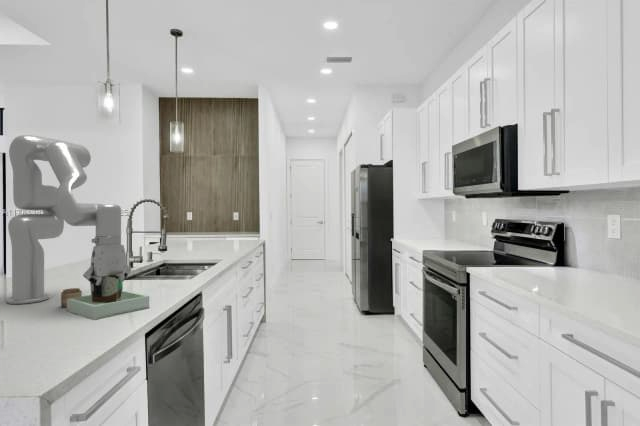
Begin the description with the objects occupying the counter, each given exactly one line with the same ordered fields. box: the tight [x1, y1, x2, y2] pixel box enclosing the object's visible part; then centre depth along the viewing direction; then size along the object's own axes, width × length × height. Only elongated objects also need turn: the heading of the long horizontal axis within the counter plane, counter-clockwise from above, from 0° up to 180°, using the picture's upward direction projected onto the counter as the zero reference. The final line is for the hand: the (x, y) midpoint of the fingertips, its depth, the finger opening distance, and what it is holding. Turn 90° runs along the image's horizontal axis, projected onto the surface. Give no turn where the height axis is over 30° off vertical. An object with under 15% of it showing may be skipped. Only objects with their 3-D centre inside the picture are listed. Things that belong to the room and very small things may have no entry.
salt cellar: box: [60, 287, 83, 309], centre depth 137 cm, size 6×6×6 cm
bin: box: [66, 289, 150, 321], centre depth 133 cm, size 18×18×4 cm
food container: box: [89, 271, 126, 303], centre depth 134 cm, size 12×6×10 cm, turn 78°
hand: (108, 294), depth 133 cm, fingers closed on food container, 6 cm apart
